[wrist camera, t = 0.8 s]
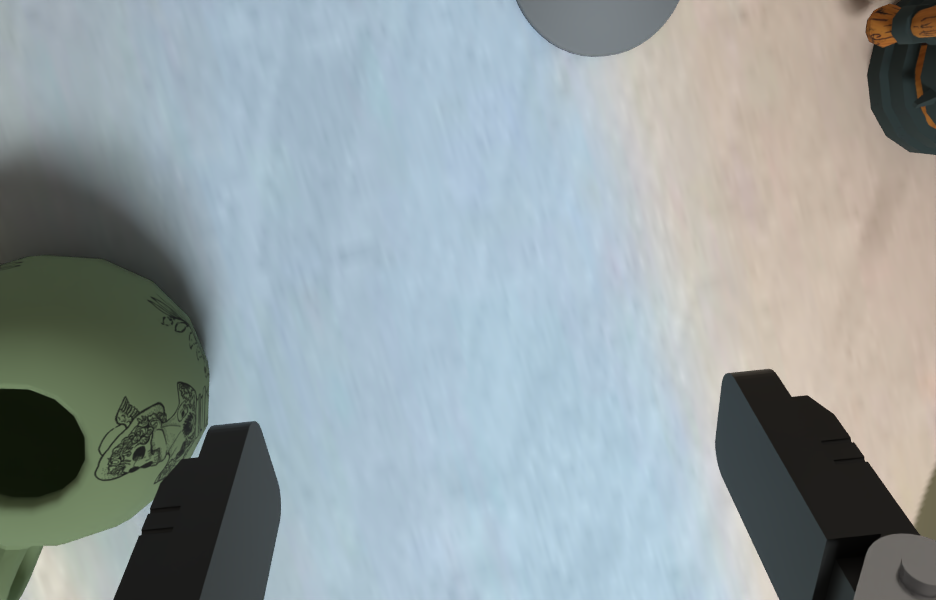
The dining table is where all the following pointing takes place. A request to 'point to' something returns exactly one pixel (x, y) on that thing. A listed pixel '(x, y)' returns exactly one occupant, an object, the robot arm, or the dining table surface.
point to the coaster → (597, 23)
